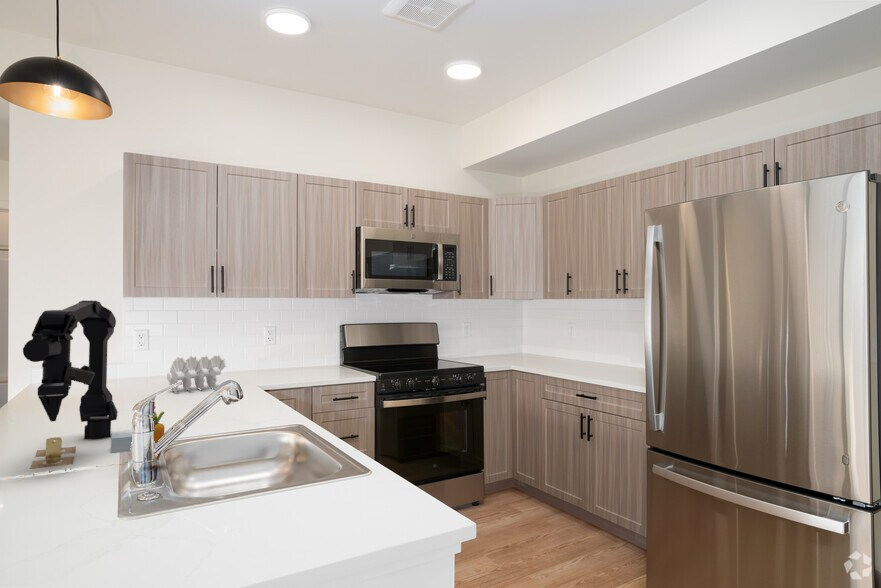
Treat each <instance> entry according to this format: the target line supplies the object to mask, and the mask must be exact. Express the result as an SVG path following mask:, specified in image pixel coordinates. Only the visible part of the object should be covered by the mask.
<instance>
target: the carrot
mask: <svg viewBox="0 0 881 588" xmlns="http://www.w3.org/2000/svg"><path fill="white" fill-rule="evenodd" d="M153 412H154V415H153V421H154V420H155V431H154V441H155V443H157V442H158V440H159V439H160V438H161V437H162V436H163V435H164V436H165V425H164V424H163V423H160V420H161V419H162V417H163V415H164V414H165V411H161V412H159V414H157V411H153ZM161 455H162V451H161V452H160V453H159V454H158V456H157V460H158V461H159V459H160V457H161Z"/></svg>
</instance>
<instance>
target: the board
mask: <svg viewBox="0 0 881 588" xmlns="http://www.w3.org/2000/svg"><path fill="white" fill-rule="evenodd" d="M62 440H63V439H61V455H68V454H69V455H70V454H75V453H76V448H77V446H66V447H62V445H63V441H62ZM40 457H46V449H39V450H36V452H35V455H34V458H40Z"/></svg>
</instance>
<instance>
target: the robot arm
mask: <svg viewBox="0 0 881 588" xmlns="http://www.w3.org/2000/svg"><path fill="white" fill-rule="evenodd" d="M78 323H79V324H80V325H81V327H82V331H83V332H82V333H83V336H84V337H85V338H86V339H87V341H88V342H89V343H88V344H89V347H88V365H82V366H81V367H80V368H79V367H74V366H72V361H71V342H72V341H73V340H74V337H73V335H72V334H73V333H74V331H75V329H76V328H77V327H78ZM116 324H117V319H116V317H115V315H114V313H113V311H112V310H110V308H109V309H108V308H107V307H105V306H103V305H102V303H101V302H100V301H98V300H84V299H83V300H81V301H78V302H77V303H75V304H73V305H71V306H69V307H65V308H63V309H50V310H49V309H48V310H44V311H43V312H42V313H41V315H39V316H38V319H37V321H36V323H35V326H34V329H33V331H32V333H31V337H32V339H30V340H28V341H27V342H26V343H25V344H24V345H23V346H24V347H22V354H23V356H24V357H25V359H26V360H28V361H30V362H33V363H38V362H42V363H41V368H42V376H41V377H42V378H41V384H40V385H39V386H38V387H37V396H38V399H39V401H40V403H41V405H42V406H43V407H42V408H43V409H44V410H45V413H46V415H47V418H48V419H49V421H50V422H52V423H53V422H56V421H57V417H58V415H59V414H60V410H61V406H62V402H63V400H64V399H65V398H67V397H68V395H69V392H70V389H71V386H72V382H77V383H82V384H83V385H86V386H88V387H87V388H88V389H87V390H86V391H85V393H84V394H83V395H81V397H80V404H79V408H78V410H79V411H78V412H79V416H80V423H85V422H86V425H84V434H83V435H84V437H83V439H84V440H101V439H106V438H111V432H112V431H111V429H112V428H111V427H112V421H116V420H117V419H118V413H119V412H118V409H117V407H116V405H115V402H114V401H113V394H112V393H111V392H110V390H109V389H108V387H107V382H108V381H107V379H108V378H107V376H108V374H107V373H108V341H109V340H110V338H111V337H112V336H113V334H114V333H115V327H116Z"/></svg>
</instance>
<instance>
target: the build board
mask: <svg viewBox="0 0 881 588" xmlns="http://www.w3.org/2000/svg"><path fill="white" fill-rule="evenodd" d="M45 460H46V459H38V460H37V459H36V460H32V462H31V464H30V467H29V470H34V469H42V468H49V467H50V468H52V467H58V466H65V465H66V466H68V465H73V464H74V462H75V456H74V455H73V456H65V457H61V461H60V462H58V463H52V464H46V463H45Z"/></svg>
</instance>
